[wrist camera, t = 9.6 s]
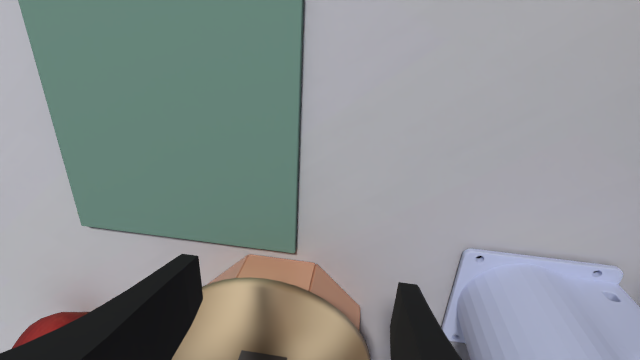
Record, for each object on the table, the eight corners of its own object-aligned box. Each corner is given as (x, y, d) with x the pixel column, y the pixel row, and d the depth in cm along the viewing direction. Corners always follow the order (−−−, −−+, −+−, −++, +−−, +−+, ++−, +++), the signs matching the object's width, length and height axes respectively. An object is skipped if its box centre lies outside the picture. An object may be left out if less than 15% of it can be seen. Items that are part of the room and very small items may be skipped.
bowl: (365, 269, 24) (364, 312, 21) (349, 381, 30) (346, 431, 26) (202, 248, 26) (174, 285, 22) (214, 359, 31) (193, 404, 27)
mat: (303, -9, 18) (302, -9, 17) (296, 249, 24) (294, 253, 24) (19, -24, 19) (11, -25, 19) (86, 222, 26) (81, 225, 26)
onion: (106, 348, 32) (30, 443, 25) (51, 313, 31) (-45, 402, 24) (134, 318, 30) (59, 413, 23) (75, 279, 29) (-23, 365, 22)
